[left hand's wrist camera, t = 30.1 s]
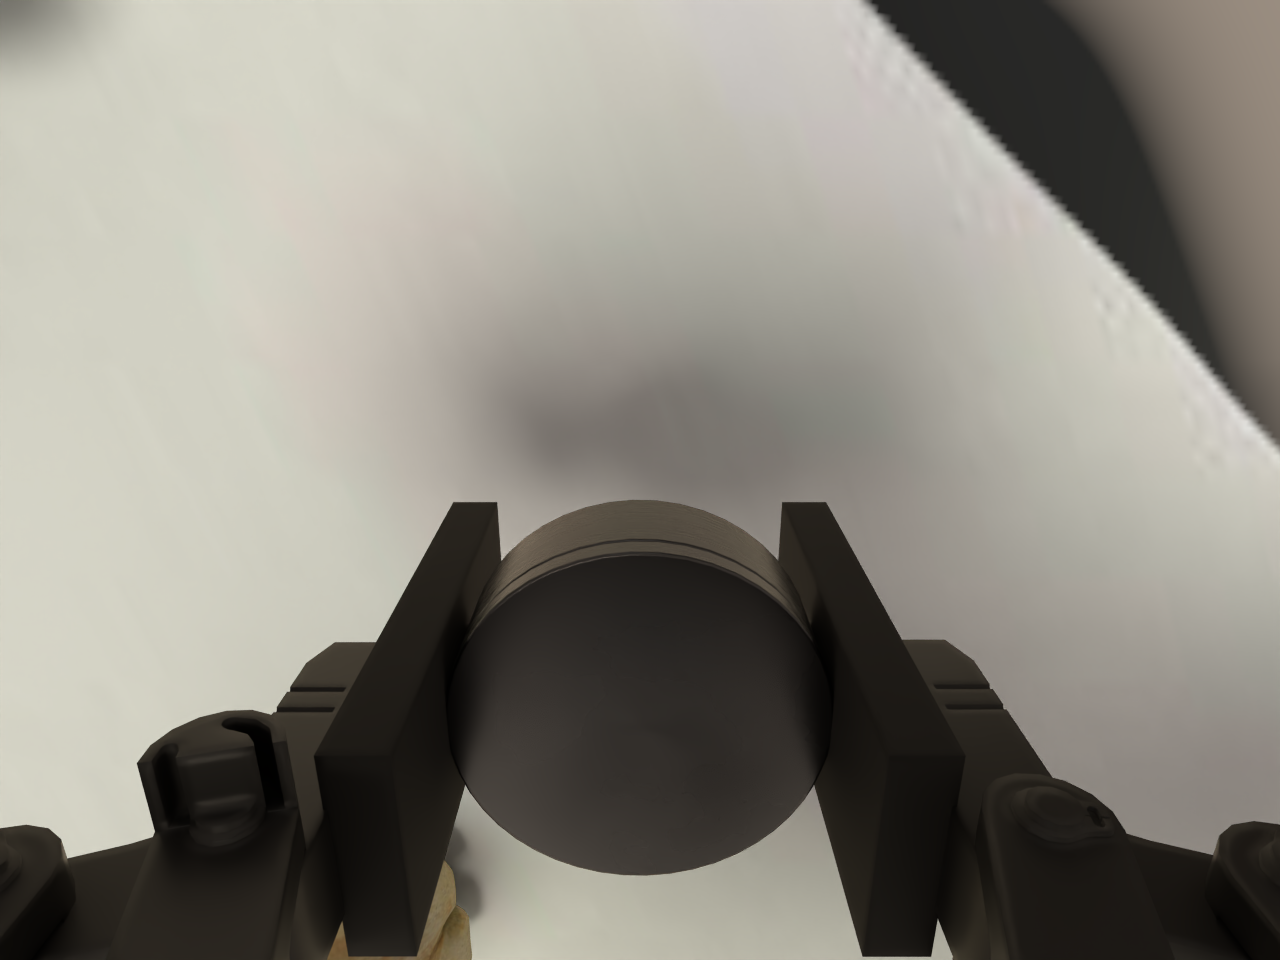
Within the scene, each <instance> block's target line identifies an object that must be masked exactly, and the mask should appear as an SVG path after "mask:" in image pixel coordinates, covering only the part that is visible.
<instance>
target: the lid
mask: <svg viewBox="0 0 1280 960" xmlns="http://www.w3.org/2000/svg"><path fill="white" fill-rule="evenodd" d="M833 700H834V698H833V693H832V688H831V682H830V677H829V674H828V672H827V669H826V666H825V663H824V660H823V657H822V655H821V652H820V649H819V647H818V644H817V641H816V639H815V636H814V633H813V631H812V628H811V625H810V623H809V620H808V617H807V614H806V612H805V609H804V606H803V604H802V601H801V598H800V596H799V593H798V592H797V590H796V588H795V586H794V584H793V582H792V580H791V578H790V577H789V575H788V574H787V572H786V571H785V570H784V568H783V567H782V566H781V564H780V563H779V562H778V560H777V559H776V558H775V557H774V556H773V555H772V554H771V553H770V552H769V551H768V550H767V549H766V548H765V547H764V546H763V545H762V544H761V543H760V542H758V541H757V540H756V539H754V538H753V537H752V536H751V535H749V534H748V533H747V532H745V531H744V530H742V529H740V528H739V527H737V526H735V525H734V524H732V523H730V522H728V521H727V520H725V519H723V518H720V517H718V516H715V515H713V514H711V513H708V512H706V511H703V510H700V509H696V508H693V507H689V506H685V505H682V504H676V503H670V502H663V501H653V500H627V501H617V502H608V503H603V504H599V505H594V506H590V507H585V508H583V509H580V510H577V511H574V512H571V513H569V514H566V515H563V516H561V517H559V518H557V519H555V520H553V521H551V522H549V523H547V524H545V525H543V526H542V527H540V528H539V529H538V530H536V531H535V532H533V533H532V534H530V535H529V536H527V537H526V538H524V539H523V540H522V541H521V542H520V543H519V544H518V545H517V546H516V547H514V548H513V549H512V550H511V551H510V552H509V553H508V554H507V555H506V556H505V558H504V559H503V560H502V561H501V562H500V564H499V565H498V566H497V567H496V568H495V570H494V571H493V573H492V575H491V576H490V578H489V579H488V581H487V583H486V584H485V586H484V588H483V590H482V593H481V595H480V597H479V600H478V602H477V604H476V607H475V610H474V612H473V615H472V618H471V620H470V623H469V626H468V628H467V631H466V634H465V636H464V639H463V642H462V645H461V647H460V650H459V653H458V656H457V658H456V661H455V663H454V666H453V669H452V673H451V677H450V680H449V684H448V688H447V696H446V714H447V724H448V734H449V743H450V749H451V754H452V757H453V759H454V762H455V764H456V767H457V769H458V772H459V774H460V776H461V778H462V780H463V781H464V783H465V785H466V787H467V788H468V790H469V792H470V793H471V795H472V796H473V797H474V798H475V800H476V801H477V802H478V804H479V805H480V806H481V808H482V809H483V810H484V811H485V812H486V813H487V814H488V815H489V816H490V817H491V818H492V819H493V820H494V821H495V822H496V823H497V824H498V825H499V826H500V827H502V828H503V829H504V830H506V831H507V832H508V833H509V834H511V835H512V836H513V837H515V838H516V839H517V840H519V841H521V842H522V843H524V844H526V845H527V846H529V847H531V848H532V849H534V850H536V851H538V852H540V853H542V854H544V855H547V856H549V857H551V858H553V859H555V860H558V861H561V862H564V863H567V864H570V865H573V866H576V867H579V868H584V869H588V870H593V871H597V872H603V873H611V874H619V875H658V874H670V873H676V872H681V871H687V870H692V869H696V868H699V867H703V866H706V865H709V864H713V863H716V862H718V861H721V860H723V859H726V858H728V857H731V856H733V855H735V854H737V853H739V852H741V851H743V850H745V849H747V848H748V847H750V846H752V845H754V844H756V843H757V842H759V841H760V840H761V839H763V838H764V837H766V836H767V835H769V834H770V833H771V832H773V831H774V830H775V829H776V828H778V827H779V826H780V825H781V824H782V823H783V822H784V821H785V820H786V819H787V818H789V817H790V816H791V815H792V813H793V812H794V811H795V810H796V809H797V808H798V806H799V805H800V804H801V803H802V802H803V801H804V799H805V798H806V796H807V795H808V793H809V792H810V790H811V789H812V787H813V786H814V784H815V782H816V781H817V778H818V776H819V774H820V772H821V770H822V768H823V765H824V763H825V761H826V757H827V754H828V750H829V747H830V738H831V728H832V718H833Z"/></svg>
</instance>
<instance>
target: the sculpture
mask: <svg viewBox="0 0 1280 960" xmlns="http://www.w3.org/2000/svg"><path fill="white" fill-rule="evenodd" d="M471 959H472V951H471V942H470V927H469V917H468V915H467V914H466V912H465V911H464V910H463V909H462V908H460V907H459V906H457V905H456V888H455V880H454V875H453V872H452V869H451V868H450V867H449V865H448V864H447V863H446V862H445V861H444V862H443V865H442V869H441V872H440V876H439V880H438V883H437V887H436V890H435V894H434V897H433V901H432V904H431V908H430V912H429V915H428V919H427V922H426V926H425V929H424V933H423V937H422V940H421V944H420V947H419V951H418V954H417V957H348V952H347V946H346V940H345V934H344V928H343V923H341V925H340V928H339V930H338V933H337V935H336V938H335V940H334V943H333V945H332V948H331V950H330V953H329V956H328V958H327V960H471Z"/></svg>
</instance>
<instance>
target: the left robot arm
mask: <svg viewBox="0 0 1280 960" xmlns="http://www.w3.org/2000/svg"><path fill="white" fill-rule="evenodd" d="M500 562H501V552H500V537H499V522H498V507H497V502H453V504H452V506H451V508H450V509H449V511H448V513H447V515H446V517H445V519H444V520H443V522H442V524H441V526H440V528H439V529H438V531H437V533H436V535H435V537H434V538H433V540H432V542H431V544H430V546H429V548H428V549H427V551H426V553H425V555H424V557H423V558H422V560H421V562H420V564H419V566H418V567H417V569H416V571H415V573H414V575H413V577H412V578H411V580H410V582H409V584H408V586H407V587H406V589H405V591H404V593H403V595H402V596H401V598H400V600H399V602H398V604H397V606H396V607H395V609H394V611H393V613H392V615H391V616H390V618H389V620H388V622H387V624H386V625H385V627H384V629H383V631H382V633H381V635H380V636H379V638H378V640H377V642H335V643H333V644H332V645H331V646H329V647H328V648H327V649H325V650H324V651H322V652H321V653H320V654H318V655H317V656H316V657H314V658H313V659H311V660H310V661H309V662H307V663H306V664H305V666H304V667H303V669H302V670H301V672H300V673H299V675H298V676H297V678H296V679H295V681H294V682H293V684H292V685H291V687H290V692H287V693H286V694H285V696H284V697H283V699H282V700H281V702H280V703H279V705H278V706H277V712H273V714H272V715H270V714H266V713H262V712H258V711H254V710H238V711H224V712H220V713H216V714H212V715H208V716H204V717H199V718H197V719H195V720H193V721H190V722H188V723H186V724H184V725H181V726H179V727H177V728H175V729H172V730H171V731H170V732H168V733H167V734H166V735H164V736H163V737H161V738H160V739H159V740H157V741H156V742H155V743H153V744H152V745H150V747H149V748H148V749H147V751H146V752H145V753H144V755H143V756H142V757H141V759H140V760H139V761H138V762H137V766H138V769H139V773H140V777H141V781H142V784H143V788H144V792H145V796H146V799H147V803H148V807H149V811H150V814H151V818H152V822H153V826H154V829H155V833H154V836H153V837H152V838H149V839H145V840H142V841H139V842H135V843H132V844H128V845H124V846H120V847H115V848H111V849H107V850H102V851H98V852H94V853H89V854H85V855H81V856H76V857H72V858H68V859H67V856H66V853H65V850H64V847H63V844H62V841H61V839H60V838H59V837H58V836H57V835H56V834H54V833H53V832H52V831H51V830H50V829H49V828H43V827H37V826H30V825H22V826H14V827H7V828H0V960H327V958H328V956H329V953H330V950H331V948H332V945H333V943H334V940H335V938H336V935H337V933H338V930H339V928H340V925H341V923H343V928H344V934H345V940H346V946H347V952H348V957H417V954H418V951H419V947H420V944H421V940H422V937H423V933H424V929H425V926H426V922H427V919H428V915H429V912H430V908H431V904H432V901H433V897H434V894H435V890H436V887H437V883H438V880H439V876H440V872H441V869H442V865H443V862H444V858H445V855H446V851H447V848H448V844H449V840H450V837H451V833H452V830H453V826H454V823H455V819H456V816H457V812H458V808H459V805H460V801H461V798H462V794H463V791H464V787H465V783H464V781H463V780H462V778H461V776H460V774H459V772H458V769H457V767H456V764H455V762H454V759H453V757H452V754H451V749H450V743H449V734H448V724H447V714H446V696H447V688H448V684H449V680H450V677H451V673H452V669H453V666H454V663H455V661H456V658H457V656H458V653H459V650H460V647H461V645H462V642H463V639H464V636H465V634H466V631H467V628H468V626H469V623H470V620H471V618H472V615H473V612H474V610H475V607H476V604H477V602H478V600H479V597H480V595H481V593H482V590H483V588H484V586H485V584H486V583H487V581H488V579H489V578H490V576H491V575H492V573H493V571H494V570H495V568H496V567H497V566H498V565H499V564H500ZM778 562H779V563H780V564H781V566H782V567H783V568H784V570H785V571H786V572H787V574H788V575H789V577H790V578H791V580H792V582H793V584H794V586H795V588H796V590H797V592H798V593H799V596H800V598H801V601H802V604H803V606H804V609H805V612H806V614H807V617H808V620H809V623H810V625H811V628H812V631H813V633H814V636H815V639H816V641H817V644H818V647H819V649H820V652H821V655H822V657H823V660H824V663H825V666H826V669H827V672H828V674H829V677H830V682H831V688H832V693H833V698H834V700H833V718H832V728H831V738H830V747H829V750H828V754H827V757H826V761H825V763H824V765H823V768H822V770H821V772H820V774H819V776H818V778H817V781H816V782H815V784H814V785H815V789H816V793H817V796H818V800H819V803H820V807H821V810H822V814H823V817H824V821H825V825H826V828H827V832H828V835H829V839H830V842H831V846H832V849H833V853H834V857H835V860H836V864H837V867H838V871H839V874H840V878H841V881H842V885H843V889H844V892H845V896H846V899H847V903H848V906H849V910H850V913H851V917H852V921H853V924H854V928H855V931H856V935H857V938H858V942H859V945H860V949H861V953H862V956H863V957H931V954H932V949H933V943H934V937H935V931H936V925H937V920H939V922H940V925H941V927H942V930H943V932H944V935H945V938H946V940H947V943H948V945H949V948H950V950H951V953H952V955H953V960H1280V825H1278V824H1271V823H1263V822H1256V821H1253V822H1246V823H1240V824H1234V825H1231V826H1230V827H1229V828H1228V829H1227V830H1225V831H1224V832H1223V833H1222V834H1221V835H1220V836H1219V839H1218V842H1217V845H1216V848H1215V851H1214V854H1213V855H1210V854H1206V853H1201V852H1197V851H1193V850H1188V849H1184V848H1180V847H1175V846H1171V845H1167V844H1162V843H1158V842H1154V841H1149V840H1146V839H1143V838H1139V837H1136V836H1133V835H1129V834H1126V832H1125V830H1124V828H1123V827H1122V825H1121V824H1120V822H1119V821H1118V819H1117V818H1116V816H1115V815H1114V813H1113V811H1111V810H1110V809H1109V808H1108V807H1106V806H1105V805H1104V804H1103V803H1102V802H1100V801H1099V800H1098V799H1097V798H1096V797H1094V796H1093V795H1092V794H1090V793H1088V792H1086V791H1084V790H1082V789H1080V788H1078V787H1076V786H1074V785H1072V784H1070V783H1068V782H1066V781H1063V780H1059V779H1055V778H1052V776H1051V775H1050V773H1049V772H1048V770H1047V769H1046V767H1045V766H1044V764H1043V763H1042V762H1041V760H1040V759H1039V757H1038V756H1037V754H1036V753H1035V751H1034V750H1033V748H1032V747H1031V745H1030V744H1029V742H1028V741H1027V739H1026V738H1025V736H1024V735H1023V733H1022V732H1021V730H1020V729H1019V727H1018V726H1017V724H1016V723H1015V721H1014V720H1013V718H1012V717H1011V715H1010V714H1009V712H1008V711H1007V710H1004V709H1003V704H1002V702H1001V701H1000V699H999V698H998V696H997V695H996V693H995V692H994V690H993V689H990V684H989V683H988V681H987V680H986V678H985V677H984V675H983V674H982V672H981V671H980V669H979V668H978V666H977V665H976V663H975V662H974V661H973V660H972V659H971V658H969V657H968V656H967V655H965V654H964V653H962V652H961V651H960V650H958V649H957V648H956V647H954V646H953V645H951V644H950V643H949V642H947V641H946V640H902V639H901V637H900V636H899V634H898V632H897V630H896V628H895V626H894V625H893V623H892V621H891V619H890V617H889V616H888V614H887V612H886V610H885V608H884V607H883V605H882V603H881V601H880V599H879V597H878V596H877V594H876V592H875V590H874V588H873V587H872V585H871V583H870V581H869V579H868V578H867V576H866V574H865V572H864V570H863V568H862V567H861V565H860V563H859V561H858V559H857V558H856V556H855V554H854V552H853V550H852V549H851V547H850V545H849V543H848V541H847V539H846V538H845V536H844V534H843V532H842V530H841V529H840V527H839V525H838V523H837V521H836V520H835V518H834V516H833V514H832V512H831V510H830V509H829V507H828V505H827V503H826V502H782V514H781V529H780V544H779V559H778Z"/></svg>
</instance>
